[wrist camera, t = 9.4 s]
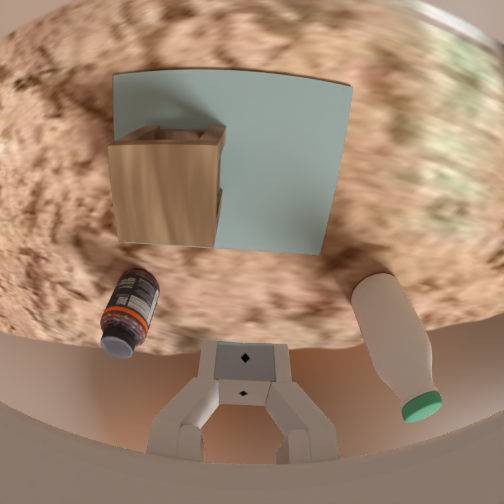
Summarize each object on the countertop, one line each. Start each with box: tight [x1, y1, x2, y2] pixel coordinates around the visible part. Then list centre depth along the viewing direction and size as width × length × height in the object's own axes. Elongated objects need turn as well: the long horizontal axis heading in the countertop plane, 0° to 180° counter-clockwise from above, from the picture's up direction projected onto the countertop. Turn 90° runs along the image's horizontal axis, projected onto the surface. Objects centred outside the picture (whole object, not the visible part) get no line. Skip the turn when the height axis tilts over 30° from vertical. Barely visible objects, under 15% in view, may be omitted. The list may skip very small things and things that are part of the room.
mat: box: [113, 69, 353, 255], centre depth 29 cm, size 24×20×1 cm
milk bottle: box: [351, 273, 442, 423], centre depth 31 cm, size 8×8×20 cm
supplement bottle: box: [100, 269, 160, 358], centre depth 33 cm, size 6×6×11 cm
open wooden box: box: [108, 126, 226, 248], centre depth 25 cm, size 9×8×8 cm
